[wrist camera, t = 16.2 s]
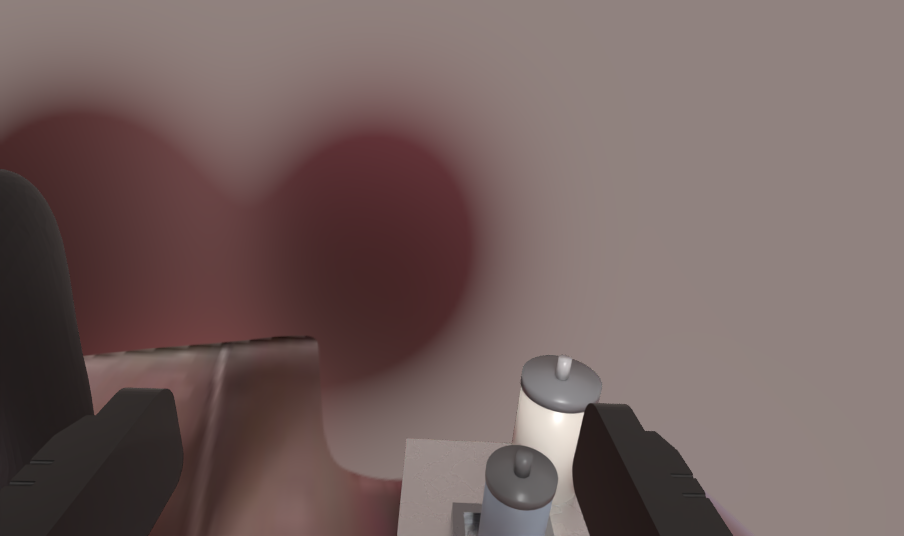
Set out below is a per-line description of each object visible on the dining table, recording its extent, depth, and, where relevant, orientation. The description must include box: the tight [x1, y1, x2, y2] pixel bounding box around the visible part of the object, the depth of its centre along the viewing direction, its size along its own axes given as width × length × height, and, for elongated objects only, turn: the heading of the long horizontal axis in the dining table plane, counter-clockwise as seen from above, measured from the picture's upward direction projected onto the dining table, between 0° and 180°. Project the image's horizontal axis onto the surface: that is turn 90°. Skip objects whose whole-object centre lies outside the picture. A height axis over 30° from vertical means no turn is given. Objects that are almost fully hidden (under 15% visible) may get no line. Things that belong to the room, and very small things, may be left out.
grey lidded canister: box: [478, 445, 558, 536], centre depth 37 cm, size 5×5×12 cm
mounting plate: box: [397, 438, 590, 536], centre depth 44 cm, size 17×21×2 cm
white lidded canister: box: [512, 355, 602, 505], centre depth 47 cm, size 7×7×14 cm
